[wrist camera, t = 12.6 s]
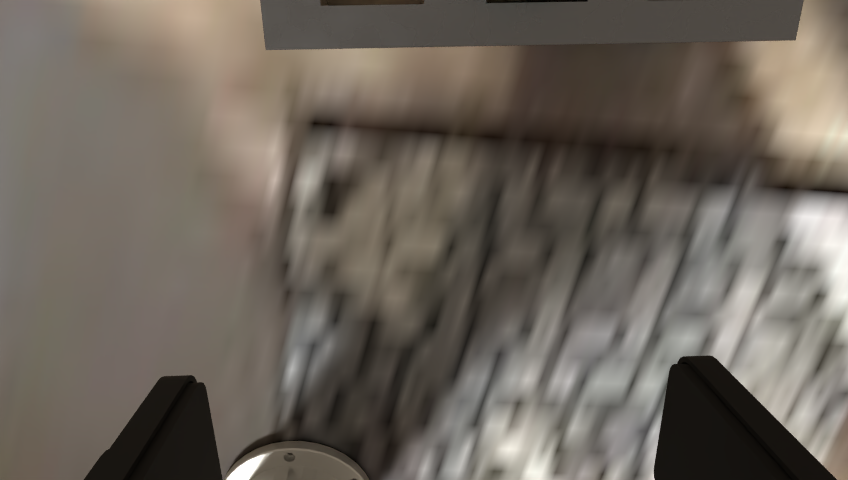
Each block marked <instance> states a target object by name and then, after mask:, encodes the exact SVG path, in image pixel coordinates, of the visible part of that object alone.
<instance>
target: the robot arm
mask: <svg viewBox="0 0 848 480" xmlns="http://www.w3.org/2000/svg"><path fill="white" fill-rule="evenodd" d="M654 478H655V480H837V479H836V478H835V477H834V476H833V475H832V474H831V473H830V472H829V471H828V470H827V469H826V468H825V467H824V466H823V465H822V464H821V463H820V462H819V461H818V460H817V459H816V458H815V457H814V456H813V455H812V454H811V453H810V452H809V451H808V450H807V449H806V448H805V447H804V446H803V445H802V444H801V443H800V442H799V441H798V440H797V439H796V438H795V437H794V436H793V435H792V434H791V433H790V432H789V431H788V430H787V429H786V428H785V427H784V426H783V425H782V424H781V423H780V422H779V421H778V420H777V419H776V418H775V417H774V416H773V415H772V414H771V413H770V412H769V411H768V410H767V409H766V408H765V407H764V406H763V405H762V404H761V403H760V402H759V401H758V400H757V399H756V398H755V397H754V396H753V395H752V394H751V393H750V392H749V391H748V390H747V389H746V388H745V387H744V386H743V385H742V384H741V383H740V382H739V381H738V380H737V379H736V378H735V377H734V376H733V375H732V374H731V373H730V372H729V371H728V370H727V369H726V368H725V367H724V366H723V365H722V364H721V363H720V362H719V361H718V360H717V359H716V358H714V357H713V356H686V357H681V358H680V359H679V361H678V363H677V364H674V365H672V366H671V368H670V371H669V377H668V384H667V390H666V396H665V402H664V409H663V415H662V421H661V428H660V434H659V440H658V446H657V453H656V459H655V465H654ZM84 480H222V474H221V469H220V463H219V458H218V452H217V446H216V441H215V435H214V430H213V424H212V419H211V413H210V408H209V402H208V397H207V391H206V387H205V385H204V383H202V382H199V383H197V381H196V379H195V377H194V376H192V375H187V376H164V377H161V378H160V379H159V380H158V382H157V383H156V384H155V386H154V387H153V389H152V390H151V391H150V393H149V394H148V396H147V397H146V398H145V400H144V401H143V403H142V404H141V405H140V407H139V408H138V410H137V411H136V412H135V414H134V415H133V417H132V418H131V419H130V421H129V422H128V424H127V425H126V426H125V428H124V429H123V431H122V432H121V433H120V435H119V436H118V438H117V439H116V440H115V442H114V443H113V445H112V446H111V447H110V449H108V450H106V451H105V452H104V453H103V454H102V456H101V457H100V458H99V459H98V461H97V462H96V463H95V465H94V466H93V468H92V469H91V470H90V472H89V473H88V475H87V476H86V477H85V479H84ZM224 480H369V478H368V477H367V475H366V473H365V472H364V471H363V470H362V469H361V468H360V466H359V465H358V464H357V463H356V462H354V461H353V460H352V459H350V458H349V457H348V456H346V455H345V454H343V453H341V452H339V451H337V450H335V449H333V448H331V447H327V446H324V445H321V444H318V443H312V442H305V441H284V442H278V443H272V444H269V445H266V446H263V447H260V448H257V449H255V450H253V451H251V452H250V453H248V454H246V455H244V456H243V457H242V458H241V459H240V460H238V461H237V462H236V463H235V464H234V465H233V466H232V468H231V469H230V470H229V471H228V473H227V474H226V476H225V478H224Z"/></svg>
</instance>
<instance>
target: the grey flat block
mask: <svg viewBox="0 0 848 480" xmlns="http://www.w3.org/2000/svg"><path fill="white" fill-rule="evenodd" d="M803 1H804V0H658V1H649V0H572V2H530V3H486V0H422V4H403V5H339V6H327V0H260V2H261V11H262V20H263V29H264V38H265V48H266V50H289V49H343V48H398V47H453V46H507V45H562V44H616V43H671V42H726V41H780V40H796V35H797V30H798V25H799V20H800V16H801V11H802V6H803Z"/></svg>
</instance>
